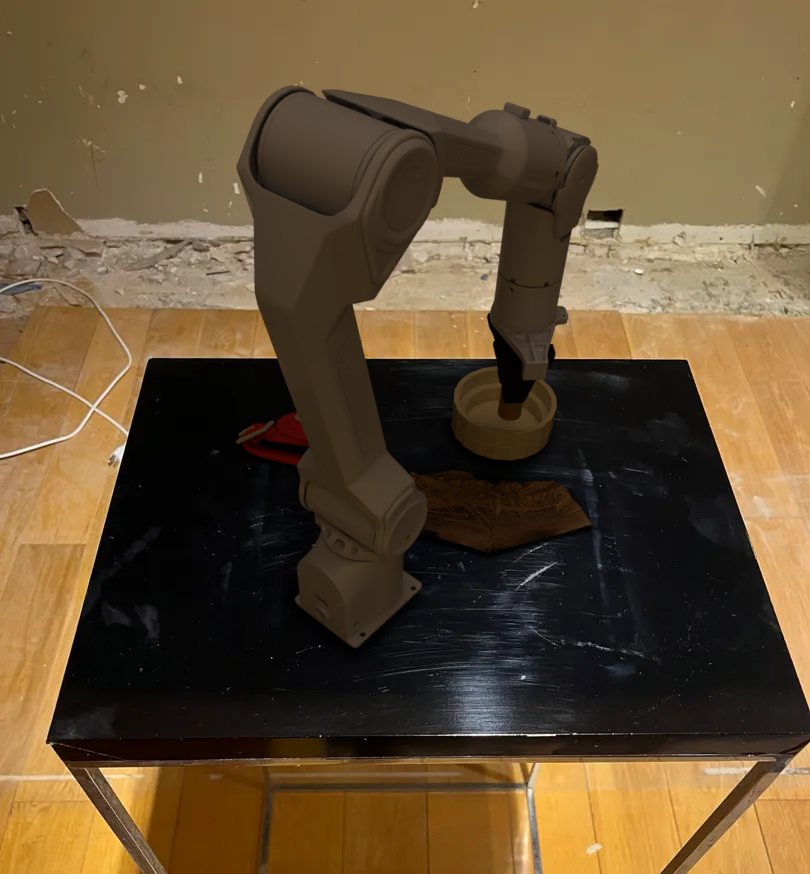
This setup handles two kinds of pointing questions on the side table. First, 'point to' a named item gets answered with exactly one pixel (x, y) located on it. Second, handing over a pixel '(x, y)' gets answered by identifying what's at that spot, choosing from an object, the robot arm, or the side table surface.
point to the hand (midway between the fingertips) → (511, 391)
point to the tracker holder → (275, 438)
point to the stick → (509, 409)
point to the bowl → (491, 433)
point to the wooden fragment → (495, 510)
